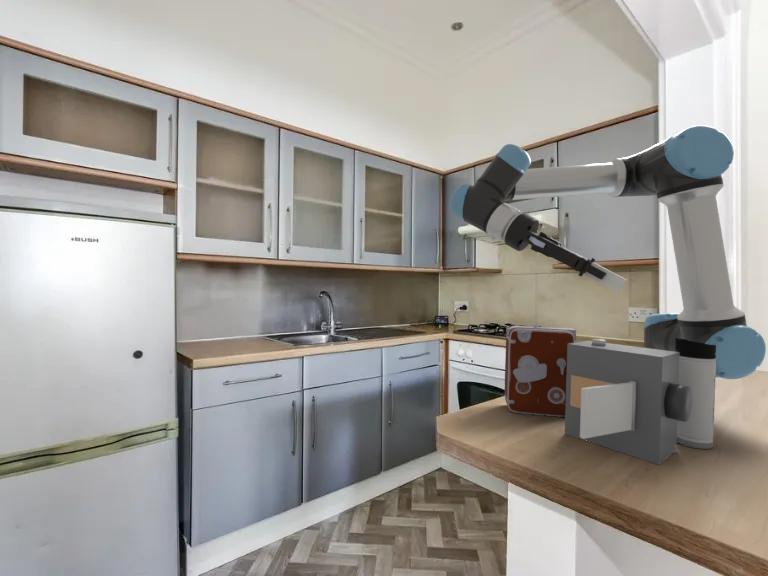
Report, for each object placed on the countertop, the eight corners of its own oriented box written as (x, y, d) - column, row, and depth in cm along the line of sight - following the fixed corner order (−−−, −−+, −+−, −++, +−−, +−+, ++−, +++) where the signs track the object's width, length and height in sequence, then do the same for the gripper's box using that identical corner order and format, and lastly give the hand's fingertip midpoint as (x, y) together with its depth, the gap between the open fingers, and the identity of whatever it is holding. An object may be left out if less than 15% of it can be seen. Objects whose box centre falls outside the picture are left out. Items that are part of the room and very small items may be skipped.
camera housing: (692, 456, 69) (696, 348, 69) (676, 470, 63) (680, 353, 63) (585, 424, 83) (588, 335, 83) (564, 434, 77) (567, 338, 77)
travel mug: (661, 436, 78) (665, 336, 77) (692, 436, 78) (696, 336, 78) (688, 449, 71) (692, 341, 71) (722, 449, 72) (726, 341, 72)
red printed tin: (600, 423, 85) (603, 331, 84) (506, 414, 88) (509, 326, 88) (587, 409, 94) (589, 326, 93) (502, 402, 97) (505, 323, 97)
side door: (630, 428, 68) (631, 380, 68) (635, 430, 67) (637, 382, 67) (578, 438, 63) (580, 386, 63) (584, 440, 62) (586, 388, 62)
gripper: (514, 245, 90) (614, 301, 78) (493, 241, 80) (605, 304, 68) (531, 216, 88) (637, 269, 76) (512, 207, 77) (632, 267, 65)
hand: (622, 286), depth 72 cm, fingers closed
